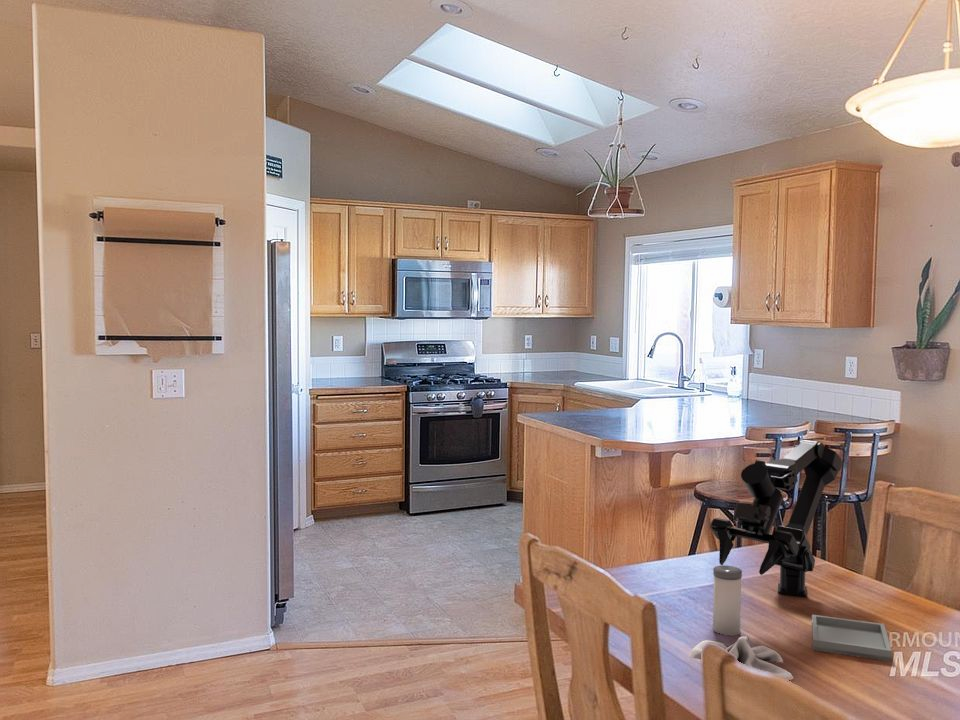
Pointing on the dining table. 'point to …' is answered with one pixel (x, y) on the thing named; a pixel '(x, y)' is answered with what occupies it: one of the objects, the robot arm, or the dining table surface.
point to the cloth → (749, 655)
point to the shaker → (727, 600)
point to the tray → (851, 637)
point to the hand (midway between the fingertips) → (740, 568)
